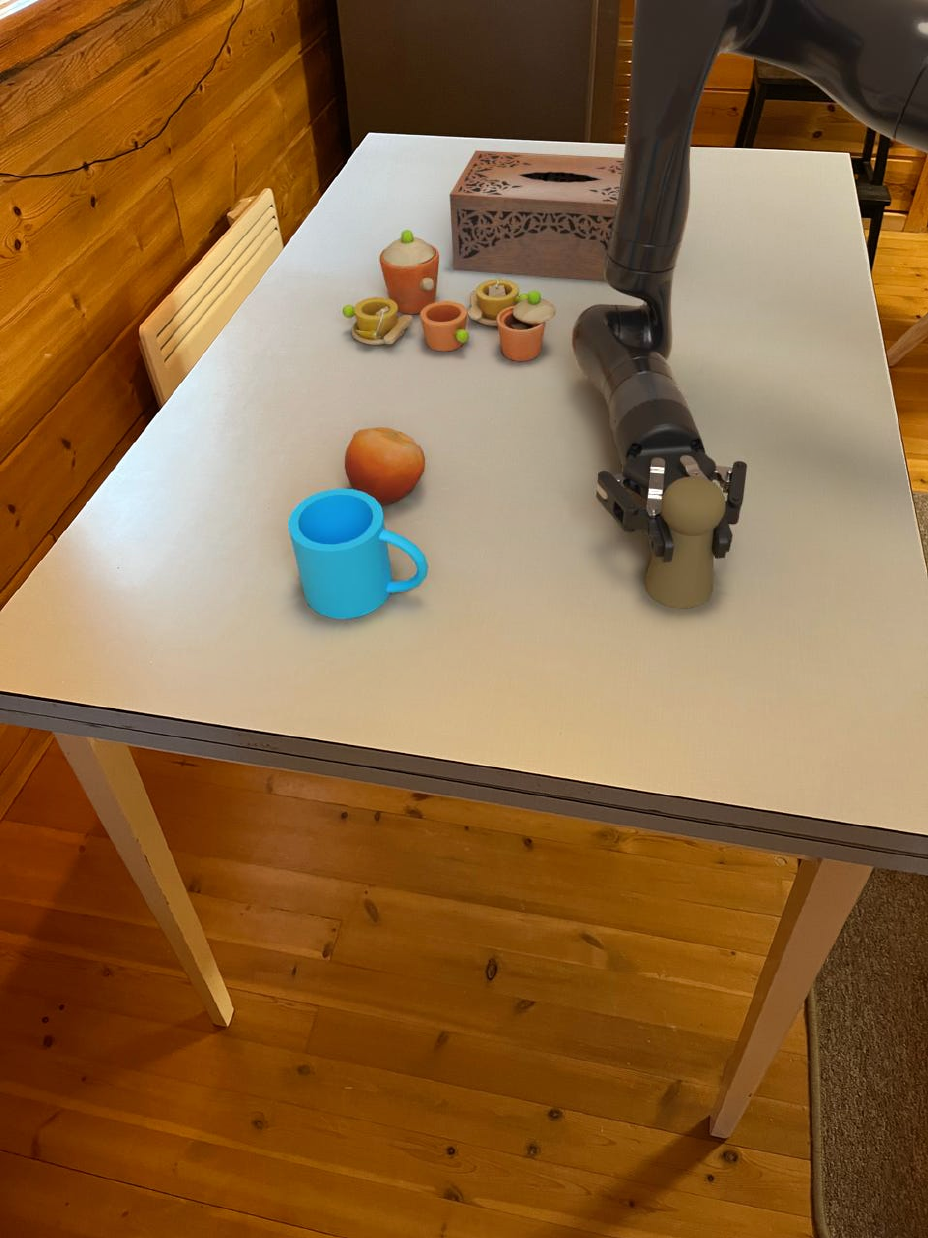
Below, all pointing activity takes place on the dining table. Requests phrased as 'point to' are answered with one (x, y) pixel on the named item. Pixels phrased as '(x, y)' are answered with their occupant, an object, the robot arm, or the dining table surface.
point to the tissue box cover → (535, 214)
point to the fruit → (384, 464)
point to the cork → (687, 543)
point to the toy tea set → (446, 306)
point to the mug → (347, 553)
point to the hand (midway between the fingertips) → (695, 552)
